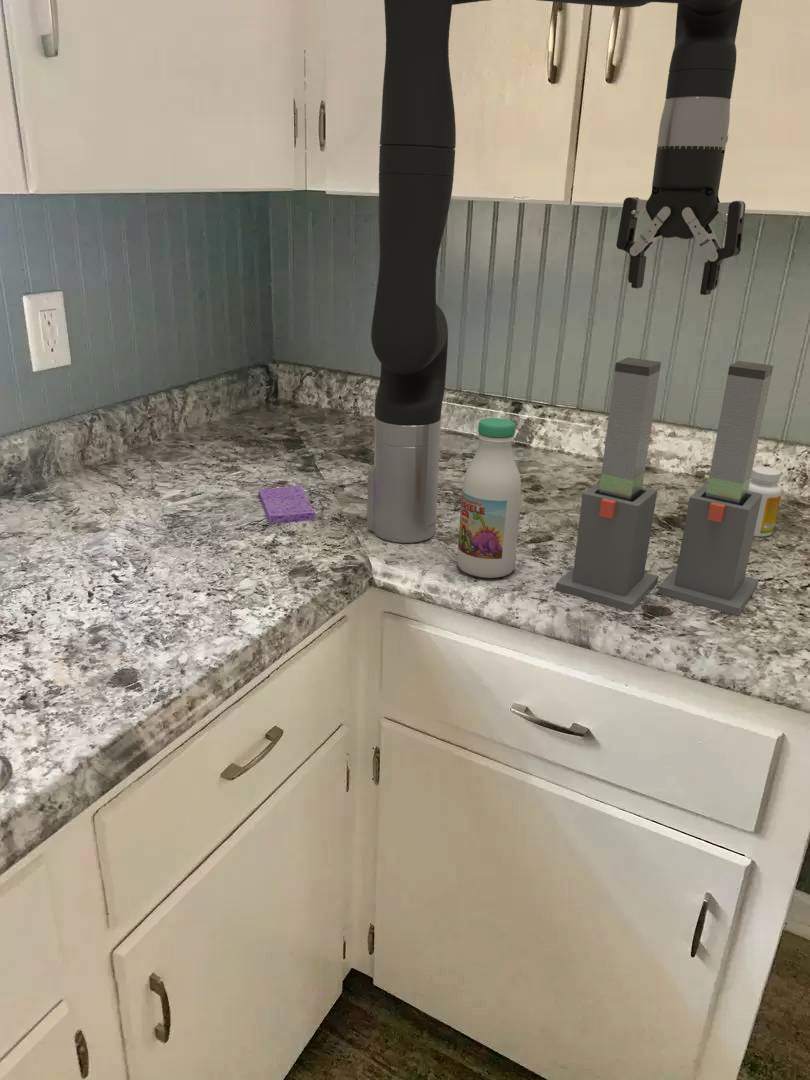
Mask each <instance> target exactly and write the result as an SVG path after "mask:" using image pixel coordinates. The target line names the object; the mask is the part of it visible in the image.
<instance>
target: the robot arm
mask: <svg viewBox="0 0 810 1080" xmlns="http://www.w3.org/2000/svg"><path fill="white" fill-rule="evenodd" d="M485 1H486V2H487V1H491V0H383V3H384V23H385V56H384V57H385V58H384V71H383V83H382V95H381V96H382V97H381V98H382V100H381V119H380V135H379V136H380V137H379V154H378V155H379V159H378V160H379V161H378V163H379V165H378V238H379V239H378V240H379V263H378V264H379V265H378V276H377V283H376V284H377V285H376V292H375V300H374V308H373V314H372V322H371V329H370V341H371V346H372V349H373V352H374V354H375V356H376V358H377V359H378V361H379V362H380V377H379V383H378V388H377V392H376V394H375V399H374V450H373V452H374V453H373V456H374V457H373V465H372V466H370V467H369V468H368V470H367V515H366V516H367V517H366V518H367V521H366V526H367V528H366V529H367V530H368V531H371V532H373V534H374V535H375V536H377V537H378V538H380V539H383V540H385V541H388V542H393V543H401V544H402V543H405V544H409V543H418V542H423V541H426V540H429V539H431V538H432V537H434V536H435V534H436V529H437V528H436V527H437V508H438V493H439V492H438V489H439V488H438V487H439V486H438V485H439V472H440V471H439V469H440V468H439V467H440V450H441V448H440V447H441V446H440V445H441V425H442V421H441V420H442V406H443V401H444V396H445V390H446V377H447V376H446V374H447V364H448V363H447V361H448V347H449V346H448V345H449V343H448V342H449V329H448V328H449V325H448V322H447V318H446V315H445V313H444V311H443V310H442V308H441V307H440V306H439V305H438V304H437V266H438V258H439V253H440V249H441V243H442V240H443V236H444V232H445V228H446V224H447V220H448V214H449V210H450V206H451V200H452V193H453V187H454V185H453V184H454V176H455V175H454V174H455V163H456V162H455V161H456V143H457V142H456V140H457V138H456V137H457V136H456V135H457V132H456V115H455V114H456V113H455V103H454V95H453V94H454V93H453V85H452V78H451V70H450V68H451V67H450V56H449V47H450V46H449V42H450V41H449V40H450V28H451V20H452V19H451V18H452V11H453V10H452V9H453V6H454V5H455V6H456V5H461V4H462V5H463V4H469V3H476V2H477V3H478V2H485ZM537 1H539V2H550V3H551V2H552V3H565V4H575V5H576V4H577V5H585V6H586V5H587V6H598V7H599V6H600V7H616V8H638V7H642V6H646V5H648V4H651V3H663V4H664V3H665V4H677V8H676V20H675V32H674V33H675V34H674V35H675V36H674V47H673V51H672V54H671V59H670V64H669V68H668V77H667V84H666V91H665V92H666V93H665V100H664V105H663V109H662V113H661V117H660V123H659V128H658V134H657V135H658V136H657V145H656V154H655V161H654V167H653V175H652V184H651V193H650V196H649V197H648V198H647V199H641V198H639V197H636V196H635V197H634V196H633V197H629V196H628V197H626V198H625V199H624V200H623V203H622V209H621V214H620V215H621V216H620V221H619V228H618V232H617V233H618V235H617V239H616V248H617V249H619V250H622V251H624V252H626V253H627V254H628V255H629V266H628V274H627V275H628V276H627V280H628V283H629V284H630V285H631V288H632V289H641V288H643V284H644V281H645V280H644V279H645V272H646V264H647V256H646V255H645V254H646V252H647V251H648V250H649V249H650V248H651V247H652V245H653V244H655V242H657V241H658V240H659V239H660V238H661V237H662V238H665V239H670V238H671V239H672V238H679V239H682V240H689V239H691V240H692V239H694V240H695V241H696V243H697V244H698V245H699V247H701V249H702V251H703V253H704V254H705V256H706V258H707V261H705V262H704V267H703V272H702V279H701V283H700V284H701V285H700V291H699V293H700V295H703V296H708V295H711V293H712V291H714V290H716V288H717V287H718V284H719V277H720V273H721V272H720V271H721V268H722V267H721V265H722V262H723V261H724V260H725V259H728V258H731V257H736V256H738V255H739V254H740V253H741V249H742V241H743V232H744V222H745V214H746V213H745V212H746V203H745V201H742V200H734V201H732V202H731V201H729V202H721V201H720V199H719V190H720V186H721V184H720V183H721V178H722V171H723V168H724V167H723V166H724V159H725V153H726V146H727V143H728V139H729V126H730V120H731V119H730V116H731V113H730V111H731V98H732V92H733V86H734V79H735V73H736V65H737V47H736V46H737V45H736V39H737V33H738V28H739V27H738V26H739V23H740V22H739V21H740V16H741V10H742V5H743V0H537ZM644 211H646V212H647V215H648V216H649V218H650V221H651V222H650V223H649V224H648V225H647V226H646V228H645V229H643V231H642V232H641V234H640V236H639V238H638V239H637V240H636V241H635V235H636V228H637V224H638V218H641V216H643V213H644ZM719 213H720V214H721V215H722V220H723V221H724V222H726V229H725V231H726V232H725V239H724V240H725V241H724V247H722V246H721V245H720V243H719V241H718V237H717V235H716V234H715V231H714V230H713V228H712V226H711V222H712V221H713V220H714V219H715V218H716V216H717V215H718V214H719Z"/></svg>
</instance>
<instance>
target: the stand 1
mask: <svg viewBox="0 0 810 1080" xmlns="http://www.w3.org/2000/svg"><path fill="white" fill-rule="evenodd" d="M599 487H600V481H598V482H597V483H596V484H594V485H592V486H591V487H590V488H588V489H586V491H584V492H582V495H581V496H582V497H581V504H580V505H581V506H580V513H579V522H578V529H577V530H578V531H577V538H576V546H575V555H574V563H573V568H572V569H570V571H568V572H567V573H566V574H565V575H564V576H563V577H561V578H559V580H558V581H556V584H555V590H556V591H560V592H563V593H566V594H570V595H573V596H576V597H579V598H583V599H587V600H590V601H593V602H596V603H600V604H603V605H606V606H608V607H609V606H610V607H614V608H617V609H619V610H620V609H621V610H624V611H627V612H630V613H631V612H633V611H634V609H635V608H636V607H637V606H638V605H639V604H640V603H641V601H643V599H644V598H645V597H646V596H647V595H648V594H649V592H651V591H652V590H653V589H654V588H655V586H656V585H657V584H658V583H659V582H658V581H659V577H660V575H656V574H653V573H649V572H645V571H646V565H647V557H648V553H649V552H648V551H649V545H650V540H651V539H650V538H651V533H652V528H653V527H652V526H653V520H654V514H655V508H656V502H657V495H658V489H653V488H649V487H645V486H643V487H642V492H641V496H640V497H639V498H637V499H636V500H635V501H634V502H631V501H626V500H622V499H618V498H613V497H609V496H604V495H600V494H599Z"/></svg>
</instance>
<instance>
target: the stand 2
mask: <svg viewBox="0 0 810 1080" xmlns="http://www.w3.org/2000/svg"><path fill="white" fill-rule="evenodd" d="M707 484H708V481H707V482H704V483H703V484H702V485H701V486H700V487H699V488H698V489H697V490H696V491H694V493H692V495H690V497H689V499H688V505H687V509H686V514H685V515H686V516H685V520H684V521H685V522H684V527H683V532H682V539H681V544H680V550H679V557H678V561H677V565H676V566H675V568H673V570H672V571H671V572H670V573H669V574H668V575H667V577H666V578H664V580H663V581H662V582H661V583H660V585H659V586H658V589H657V594H659V595H662V596H667V597H669V598H674V599H677V600H681V601H684V602H688V603H691V604H695V605H698V606H702V607H704V608H705V607H706V608H709V609H712V610H715V611H719V612H723V613H727V614H730V615H734V616H739V615H740V614H741V613H742V611H743V609H744V608H745V606H746V605H747V604H748V602H749V600H750V599H751V597H752V595H753V594H754V592H755V591H756V589H757V587H758V585H759V578H753V577H750V576H747V575H746V574H747V568H748V563H749V560H750V554H751V550H752V546H753V540H754V537H755V536H754V532H755V527H756V522H757V518H758V513H759V508H760V504H761V499H762V494H760V493H755V492H750V491H748V493H747V498H746V502H745V503H744V505H743V506H740V505H736V504H731V503H727V502H722V501H717V500H713V499H708V498H705V496H706V490H707Z"/></svg>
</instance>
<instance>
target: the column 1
mask: <svg viewBox="0 0 810 1080" xmlns="http://www.w3.org/2000/svg"><path fill="white" fill-rule="evenodd" d="M614 365H615V367H614V373H613V381H612V382H613V383H612V391H611V397H610V404H609V410H608V411H609V413H608V421H607V428H606V436H605V441H604V442H605V443H604V449H603V450H604V451H603V458H602V466H601V473H600V479H599V482H600V487H599V494H600V495H604V496H609V497H613V498H618V499H622V500H626V501H631V502H634V501H635V500H636V499H637V498H639V497H640V496H641V492H642V487H644V479H645V472H646V471H645V469H646V465H647V458H648V451H649V444H650V437H651V431H652V427H653V426H652V424H653V419H654V412H655V405H656V398H657V392H658V391H657V390H658V385H659V379H660V378H659V377H660V371H661V365H662V362H661V361H655V360H649V359H643V358H642V359H641V358H636V357H635V358H634V357H626V358H624V359H621V360H619V361H616V362H615V364H614Z"/></svg>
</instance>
